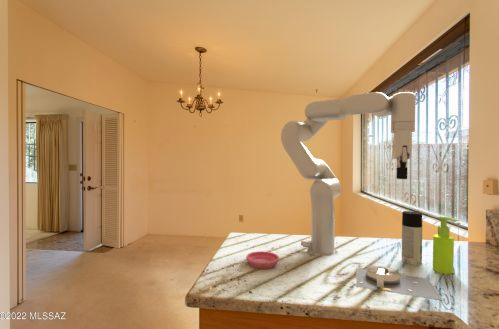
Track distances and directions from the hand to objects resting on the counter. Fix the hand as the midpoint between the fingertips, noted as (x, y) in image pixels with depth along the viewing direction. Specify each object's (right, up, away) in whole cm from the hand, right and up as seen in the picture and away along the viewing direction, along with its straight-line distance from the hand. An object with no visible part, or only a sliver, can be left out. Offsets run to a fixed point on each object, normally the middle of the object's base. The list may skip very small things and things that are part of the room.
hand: (401, 178), depth 98 cm
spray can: (+7, -33, +6) cm, 35 cm away
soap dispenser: (+13, -34, -3) cm, 36 cm away
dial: (-12, -32, -11) cm, 36 cm away
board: (-9, -33, -12) cm, 37 cm away
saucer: (-50, -33, +5) cm, 60 cm away
